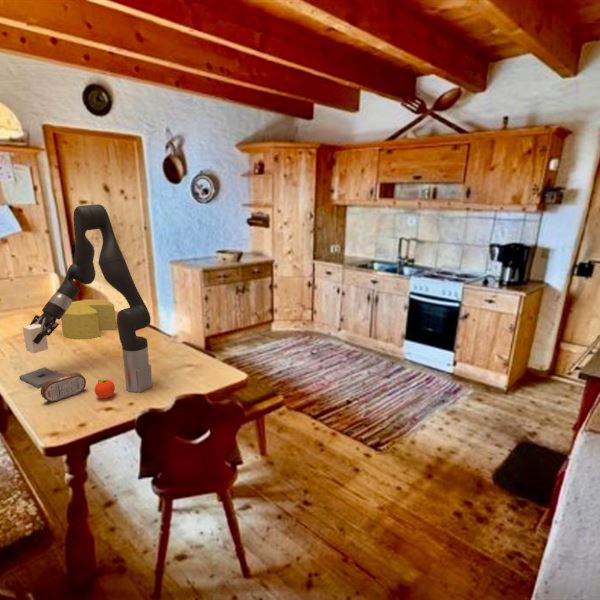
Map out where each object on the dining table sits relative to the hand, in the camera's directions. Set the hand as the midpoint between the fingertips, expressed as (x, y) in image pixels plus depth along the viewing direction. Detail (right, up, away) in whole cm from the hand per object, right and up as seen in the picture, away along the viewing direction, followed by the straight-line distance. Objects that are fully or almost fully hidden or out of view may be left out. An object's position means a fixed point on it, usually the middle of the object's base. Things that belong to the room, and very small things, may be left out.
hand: (31, 341), depth 155 cm
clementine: (+32, -21, -6) cm, 39 cm away
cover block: (+1, -4, +3) cm, 5 cm away
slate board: (0, -16, +6) cm, 17 cm away
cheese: (-9, -1, +61) cm, 62 cm away
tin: (+18, -21, -7) cm, 28 cm away
